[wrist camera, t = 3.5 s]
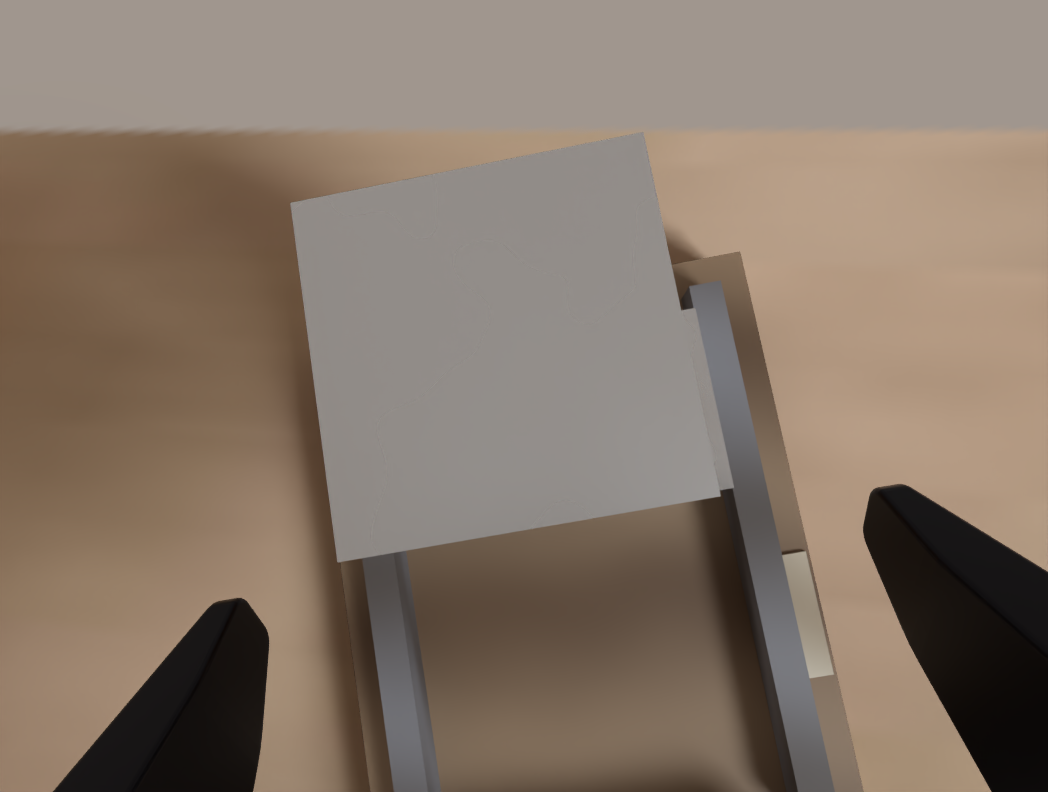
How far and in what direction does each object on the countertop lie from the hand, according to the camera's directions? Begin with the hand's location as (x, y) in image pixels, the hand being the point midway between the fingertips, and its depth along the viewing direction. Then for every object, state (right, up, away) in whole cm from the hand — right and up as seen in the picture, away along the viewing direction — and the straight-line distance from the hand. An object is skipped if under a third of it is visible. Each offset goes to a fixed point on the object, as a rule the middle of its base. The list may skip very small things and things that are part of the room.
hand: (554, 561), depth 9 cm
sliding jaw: (0, +1, +8) cm, 8 cm away
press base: (+1, -4, +9) cm, 10 cm away
